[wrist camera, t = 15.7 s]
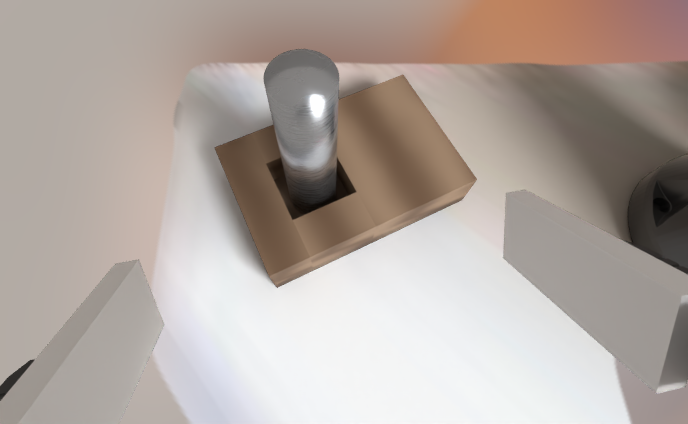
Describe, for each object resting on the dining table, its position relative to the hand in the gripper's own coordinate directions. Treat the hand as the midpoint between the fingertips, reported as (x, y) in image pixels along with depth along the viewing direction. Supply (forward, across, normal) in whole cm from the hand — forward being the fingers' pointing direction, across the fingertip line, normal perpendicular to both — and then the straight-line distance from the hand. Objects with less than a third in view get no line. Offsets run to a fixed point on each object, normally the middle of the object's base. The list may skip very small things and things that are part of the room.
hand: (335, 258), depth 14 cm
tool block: (+21, +3, -4) cm, 21 cm away
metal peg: (+19, 0, -4) cm, 20 cm away
